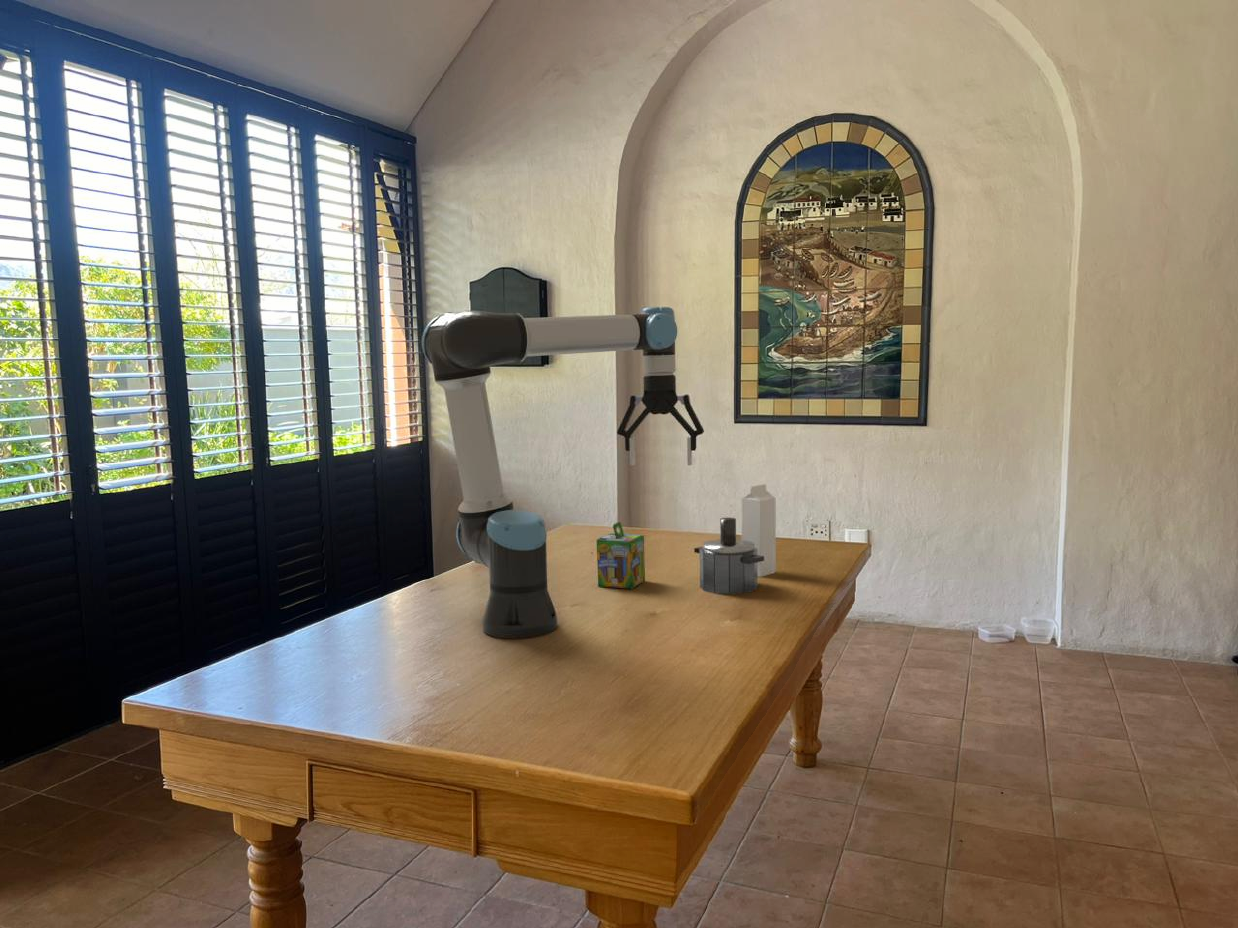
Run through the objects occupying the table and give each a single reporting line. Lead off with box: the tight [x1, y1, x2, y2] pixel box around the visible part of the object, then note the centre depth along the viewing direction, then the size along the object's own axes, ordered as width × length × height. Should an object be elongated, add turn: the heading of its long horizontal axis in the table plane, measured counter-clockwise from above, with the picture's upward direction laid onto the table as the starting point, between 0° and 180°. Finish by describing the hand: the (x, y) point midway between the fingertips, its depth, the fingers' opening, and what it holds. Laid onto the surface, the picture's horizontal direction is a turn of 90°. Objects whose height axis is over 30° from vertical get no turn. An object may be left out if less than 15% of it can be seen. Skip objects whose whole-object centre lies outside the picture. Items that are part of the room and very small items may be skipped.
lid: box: [702, 517, 754, 555], centre depth 219 cm, size 12×12×8 cm
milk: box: [741, 483, 777, 578], centre depth 232 cm, size 6×6×22 cm
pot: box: [693, 545, 764, 595], centre depth 220 cm, size 13×18×9 cm
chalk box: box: [596, 521, 646, 590], centre depth 225 cm, size 9×9×15 cm
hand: (661, 464), depth 221 cm, fingers open, 13 cm apart
